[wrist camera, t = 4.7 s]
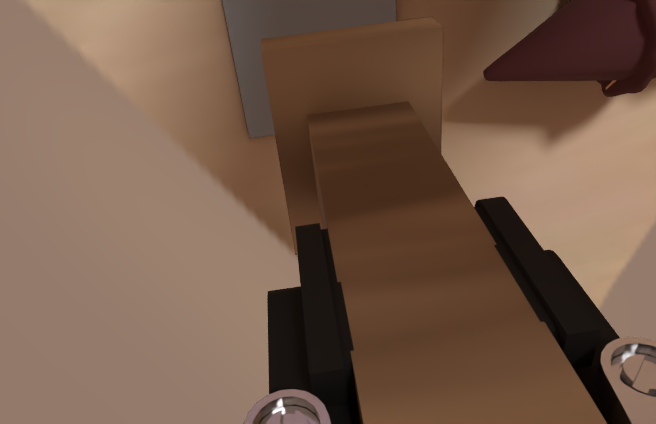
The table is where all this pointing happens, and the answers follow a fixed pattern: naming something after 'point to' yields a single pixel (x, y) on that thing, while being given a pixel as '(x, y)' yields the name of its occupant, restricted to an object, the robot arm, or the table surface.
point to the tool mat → (282, 20)
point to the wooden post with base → (408, 235)
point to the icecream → (587, 47)
